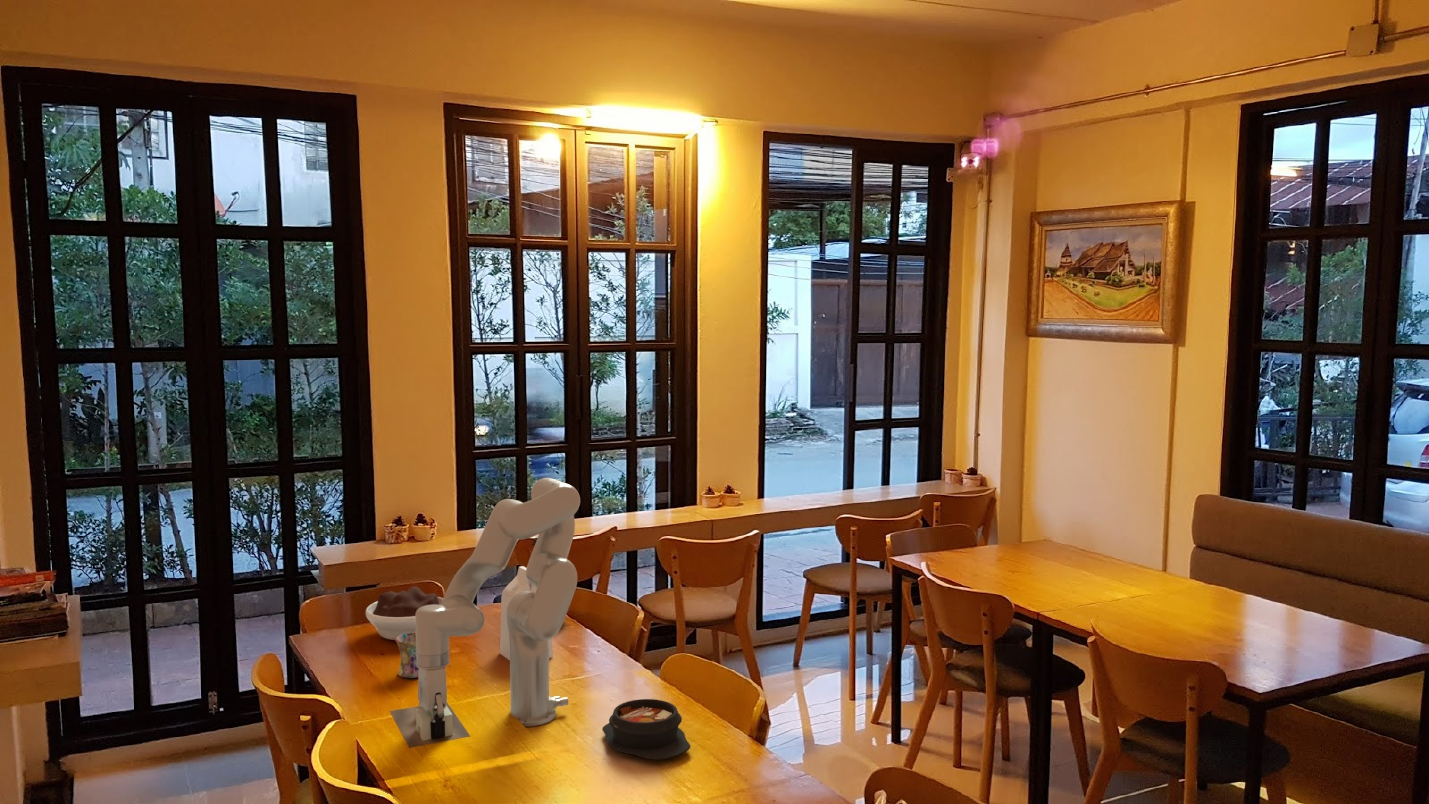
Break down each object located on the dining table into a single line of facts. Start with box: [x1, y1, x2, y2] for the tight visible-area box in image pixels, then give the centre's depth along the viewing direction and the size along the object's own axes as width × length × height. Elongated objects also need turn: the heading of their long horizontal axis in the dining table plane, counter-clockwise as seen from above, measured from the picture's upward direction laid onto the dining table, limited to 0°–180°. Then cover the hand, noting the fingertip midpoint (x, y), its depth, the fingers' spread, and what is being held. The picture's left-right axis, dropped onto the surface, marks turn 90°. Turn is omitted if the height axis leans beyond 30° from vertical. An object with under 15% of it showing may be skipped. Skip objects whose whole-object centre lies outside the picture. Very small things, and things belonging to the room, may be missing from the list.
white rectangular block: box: [416, 706, 453, 740], centre depth 243 cm, size 7×7×5 cm
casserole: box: [601, 698, 691, 761], centre depth 240 cm, size 25×19×8 cm
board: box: [389, 702, 471, 749], centre depth 248 cm, size 14×24×2 cm, turn 28°
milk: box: [499, 565, 554, 661], centre depth 301 cm, size 12×12×26 cm
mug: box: [395, 632, 419, 679], centre depth 286 cm, size 12×9×11 cm
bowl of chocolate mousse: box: [365, 585, 444, 641], centre depth 319 cm, size 25×25×15 cm
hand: (434, 731), depth 243 cm, fingers closed on white rectangular block, 7 cm apart
